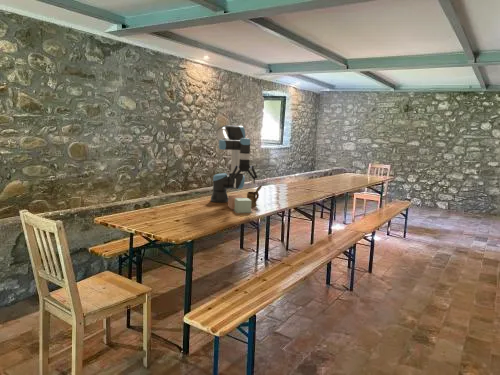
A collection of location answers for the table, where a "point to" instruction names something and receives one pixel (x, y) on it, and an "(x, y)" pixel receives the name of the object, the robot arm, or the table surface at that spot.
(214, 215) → the table surface
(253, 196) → the wooden mug
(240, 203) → the sage cover
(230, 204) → the terracotta cover
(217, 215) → the table surface
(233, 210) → the slate tile
